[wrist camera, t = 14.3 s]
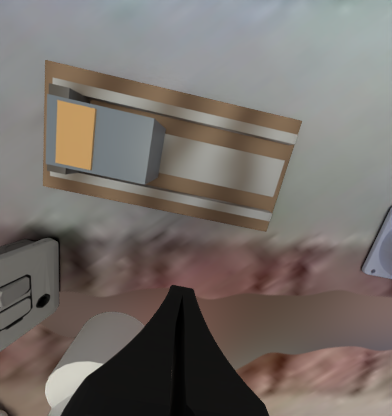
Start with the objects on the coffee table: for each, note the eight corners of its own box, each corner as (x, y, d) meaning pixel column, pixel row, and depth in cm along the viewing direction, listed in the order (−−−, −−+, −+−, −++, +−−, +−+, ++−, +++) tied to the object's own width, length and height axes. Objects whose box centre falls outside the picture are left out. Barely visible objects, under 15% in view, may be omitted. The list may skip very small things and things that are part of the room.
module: (165, 129, 18) (153, 117, 13) (157, 177, 19) (144, 185, 14) (88, 111, 17) (44, 92, 12) (84, 162, 19) (43, 163, 14)
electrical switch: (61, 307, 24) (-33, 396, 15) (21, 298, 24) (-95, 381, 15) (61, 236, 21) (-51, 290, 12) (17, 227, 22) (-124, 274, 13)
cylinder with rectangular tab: (117, 378, 27) (55, 550, 15) (65, 337, 25) (-49, 496, 13) (165, 344, 25) (139, 505, 13) (115, 298, 23) (34, 438, 12)
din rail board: (298, 122, 18) (322, 113, 15) (264, 229, 21) (277, 243, 18) (50, 63, 17) (13, 39, 14) (47, 185, 20) (15, 190, 16)
